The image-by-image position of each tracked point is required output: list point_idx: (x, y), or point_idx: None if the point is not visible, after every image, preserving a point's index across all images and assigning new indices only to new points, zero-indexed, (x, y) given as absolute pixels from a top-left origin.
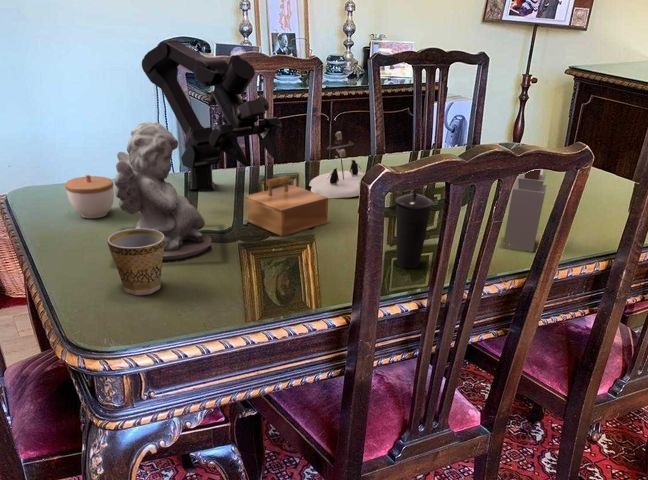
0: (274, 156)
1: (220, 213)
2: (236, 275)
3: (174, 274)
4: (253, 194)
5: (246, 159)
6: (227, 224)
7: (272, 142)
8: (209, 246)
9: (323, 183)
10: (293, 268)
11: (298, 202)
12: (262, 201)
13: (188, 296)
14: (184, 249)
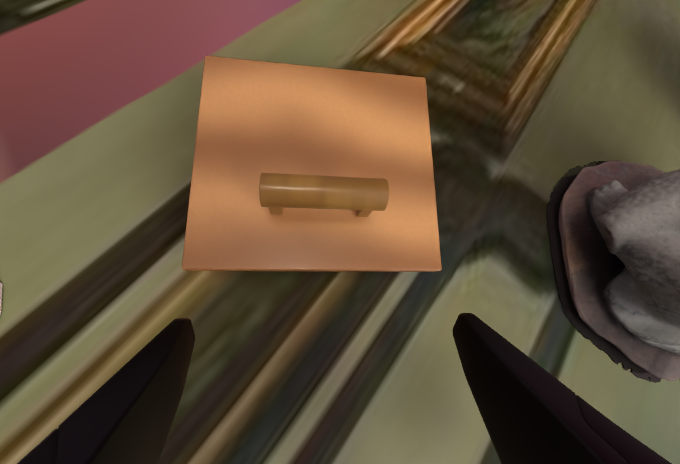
0: (183, 353)
1: (429, 390)
2: (576, 54)
3: (664, 128)
4: (407, 261)
5: (479, 333)
6: (461, 288)
7: (83, 460)
8: (564, 191)
9: None
10: (478, 6)
11: (333, 89)
12: (427, 175)
13: (667, 52)
14: (638, 182)
